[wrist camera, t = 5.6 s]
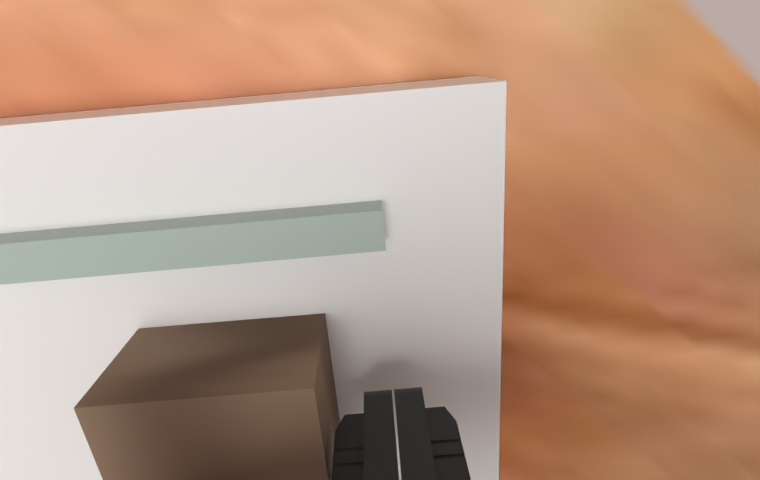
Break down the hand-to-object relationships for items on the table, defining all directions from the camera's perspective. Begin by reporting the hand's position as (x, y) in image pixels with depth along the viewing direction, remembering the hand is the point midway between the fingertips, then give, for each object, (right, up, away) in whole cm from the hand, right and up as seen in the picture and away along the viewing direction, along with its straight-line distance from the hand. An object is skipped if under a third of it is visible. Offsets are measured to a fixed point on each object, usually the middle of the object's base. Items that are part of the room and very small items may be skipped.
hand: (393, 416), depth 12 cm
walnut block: (-4, 0, +1) cm, 4 cm away
